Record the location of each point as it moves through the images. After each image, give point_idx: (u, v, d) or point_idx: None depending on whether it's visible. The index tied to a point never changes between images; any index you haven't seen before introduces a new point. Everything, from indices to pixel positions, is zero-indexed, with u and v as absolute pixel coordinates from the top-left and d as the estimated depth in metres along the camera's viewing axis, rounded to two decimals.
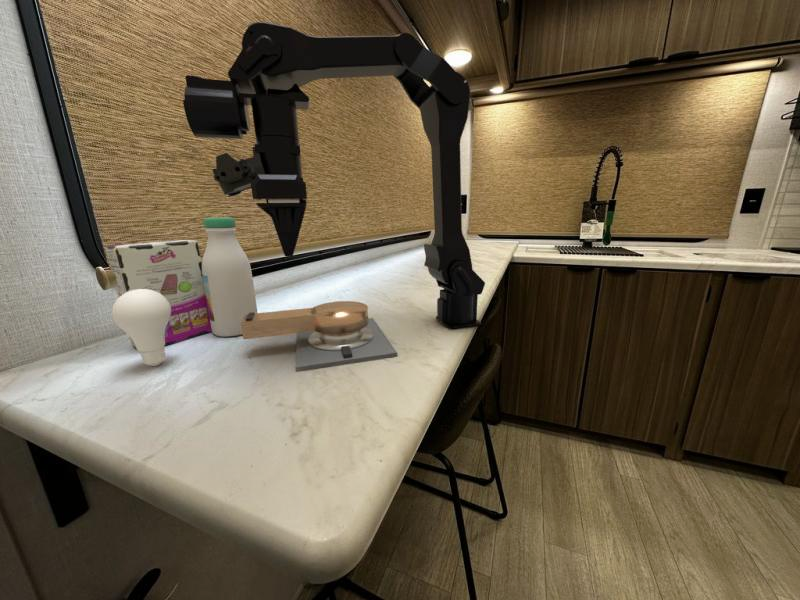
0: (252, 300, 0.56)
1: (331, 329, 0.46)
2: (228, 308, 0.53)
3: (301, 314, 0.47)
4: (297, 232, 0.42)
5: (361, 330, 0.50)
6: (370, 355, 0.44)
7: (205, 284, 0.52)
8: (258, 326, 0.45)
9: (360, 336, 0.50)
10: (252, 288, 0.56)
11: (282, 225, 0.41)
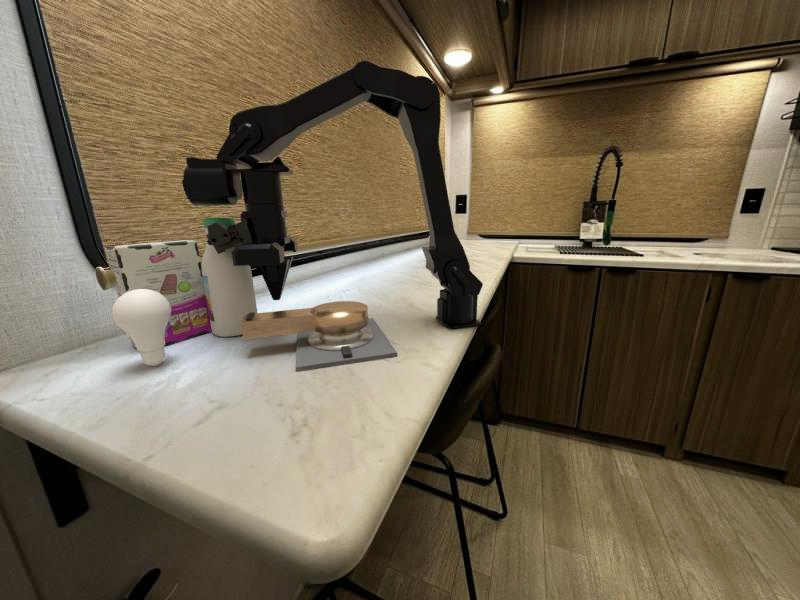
0: (252, 300, 0.56)
1: (331, 329, 0.46)
2: (228, 308, 0.53)
3: (301, 314, 0.47)
4: (282, 282, 0.52)
5: (361, 330, 0.50)
6: (370, 355, 0.44)
7: (205, 284, 0.52)
8: (258, 326, 0.45)
9: (360, 336, 0.50)
10: (252, 288, 0.56)
11: (269, 277, 0.51)
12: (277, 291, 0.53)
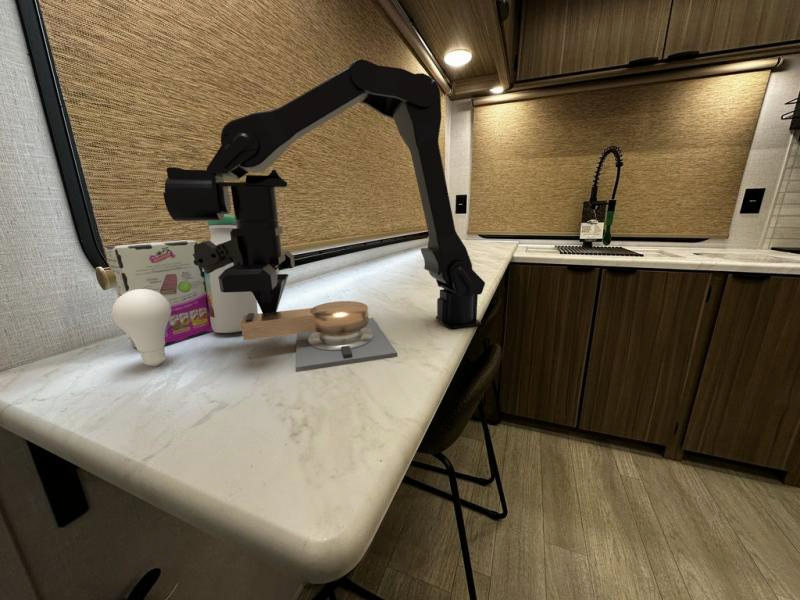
0: (252, 297, 0.56)
1: (331, 329, 0.46)
2: (228, 304, 0.53)
3: (301, 314, 0.47)
4: (276, 303, 0.48)
5: (361, 330, 0.50)
6: (370, 355, 0.44)
7: (206, 280, 0.53)
8: (258, 327, 0.45)
9: (360, 336, 0.50)
10: None
11: (263, 298, 0.48)
12: None
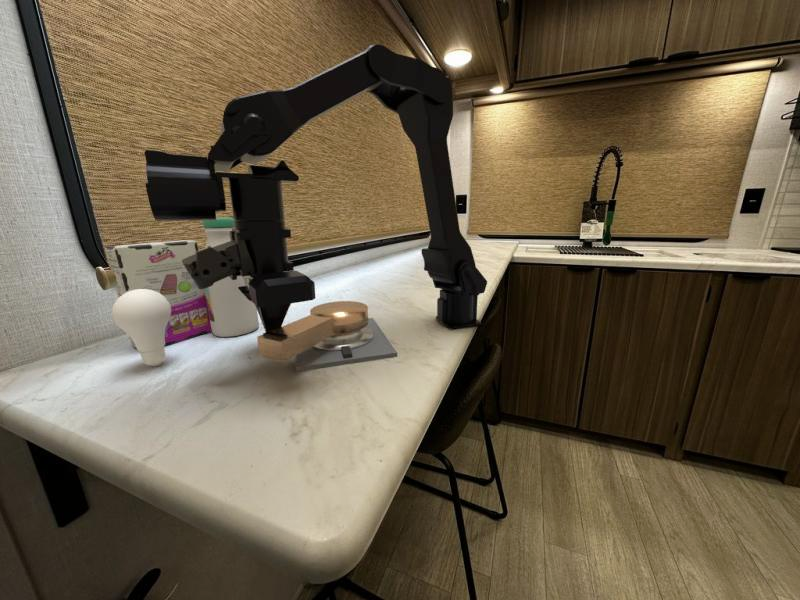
0: None
1: (355, 326, 0.47)
2: (228, 308, 0.53)
3: (321, 320, 0.44)
4: (283, 316, 0.42)
5: (361, 330, 0.50)
6: (370, 355, 0.44)
7: None
8: (295, 342, 0.39)
9: (360, 336, 0.50)
10: None
11: (269, 312, 0.40)
12: (276, 328, 0.42)
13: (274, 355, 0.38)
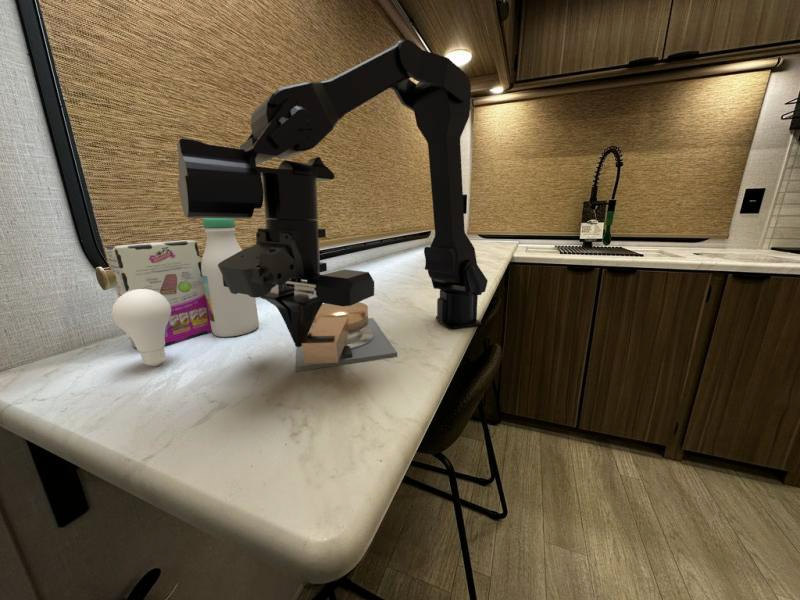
0: (252, 300, 0.56)
1: (364, 322, 0.49)
2: (228, 308, 0.53)
3: (340, 320, 0.44)
4: (312, 319, 0.40)
5: (361, 330, 0.50)
6: (370, 355, 0.44)
7: (205, 284, 0.52)
8: (339, 342, 0.39)
9: (360, 336, 0.50)
10: None
11: (303, 316, 0.38)
12: (305, 333, 0.40)
13: (325, 358, 0.37)
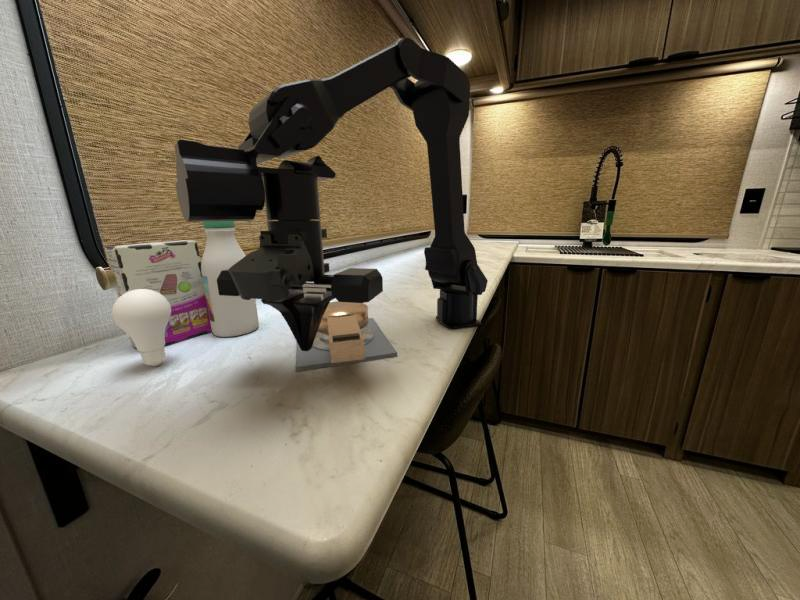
0: (252, 300, 0.56)
1: (367, 320, 0.50)
2: (227, 309, 0.53)
3: (350, 318, 0.45)
4: (318, 322, 0.39)
5: (361, 330, 0.50)
6: (370, 355, 0.44)
7: (205, 284, 0.52)
8: None
9: None
10: None
11: (312, 319, 0.37)
12: (313, 337, 0.39)
13: (353, 356, 0.37)
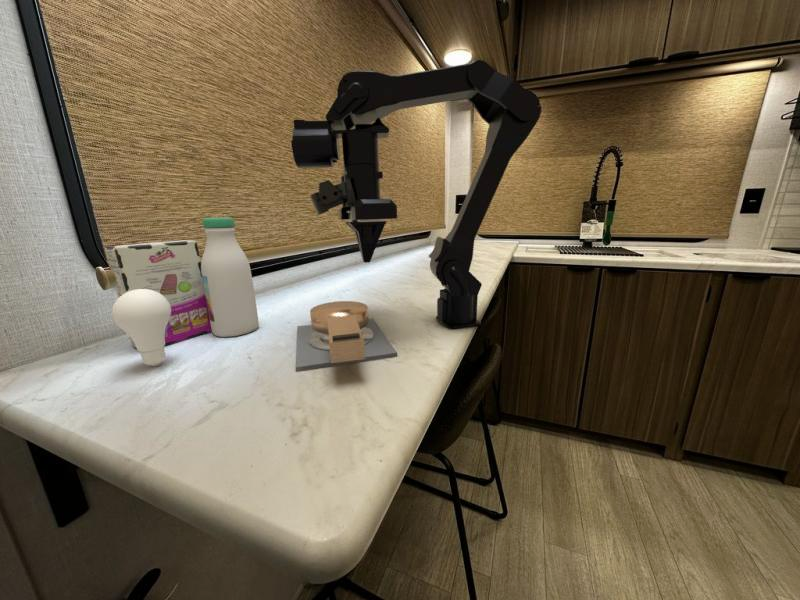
0: (252, 300, 0.56)
1: (367, 320, 0.50)
2: (227, 308, 0.53)
3: (350, 318, 0.45)
4: (375, 243, 0.54)
5: (361, 330, 0.50)
6: (370, 355, 0.44)
7: (205, 284, 0.52)
8: None
9: None
10: (252, 288, 0.56)
11: (365, 238, 0.53)
12: (369, 253, 0.54)
13: (353, 356, 0.37)
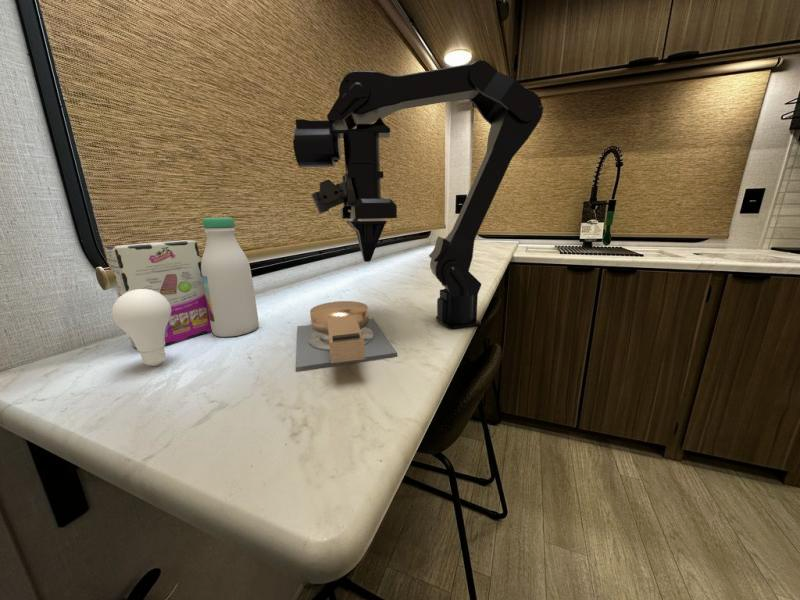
0: (252, 300, 0.56)
1: (367, 320, 0.50)
2: (227, 309, 0.53)
3: (350, 318, 0.45)
4: (375, 243, 0.54)
5: (361, 330, 0.50)
6: (370, 355, 0.44)
7: (205, 284, 0.52)
8: None
9: None
10: (252, 288, 0.56)
11: (365, 237, 0.53)
12: (370, 252, 0.54)
13: (353, 356, 0.37)
